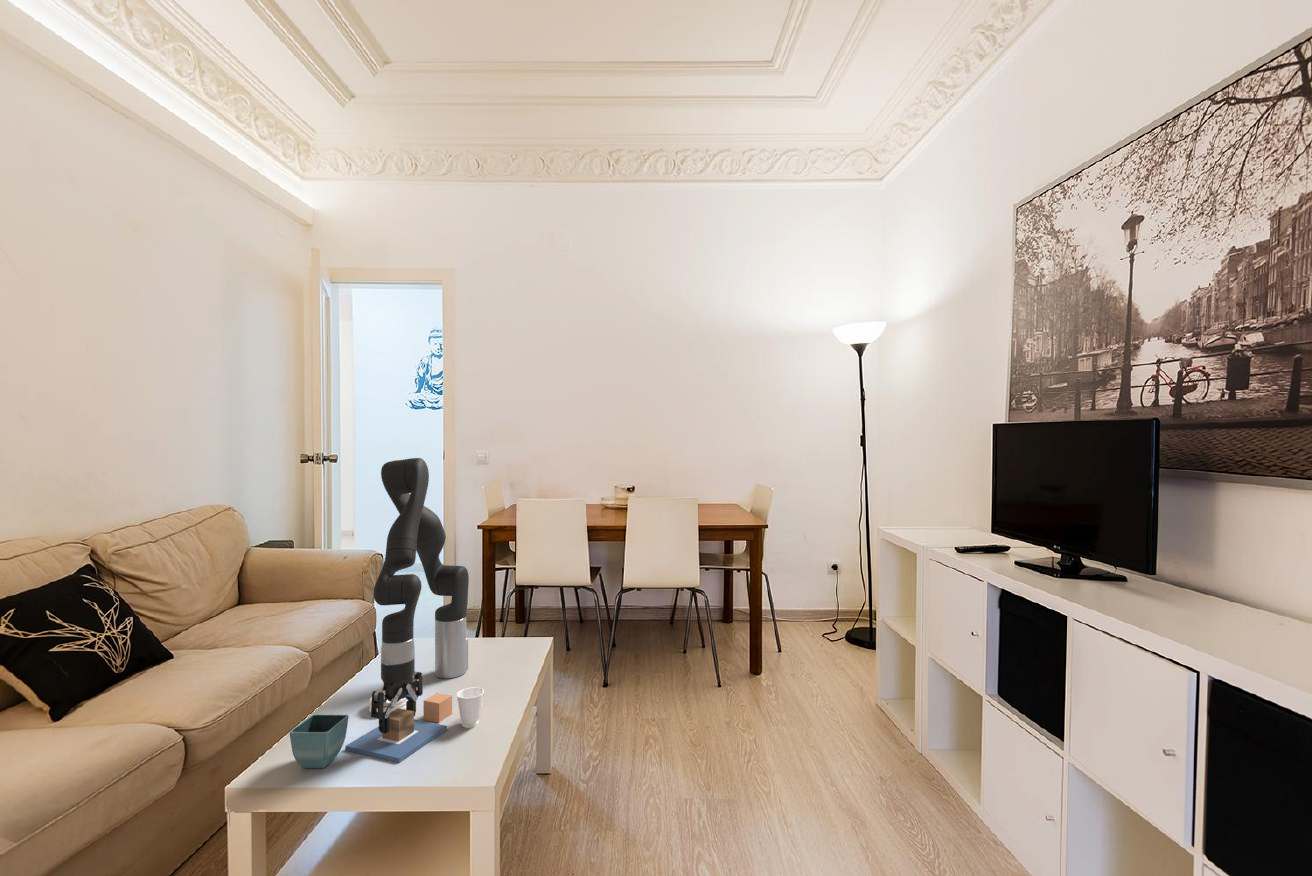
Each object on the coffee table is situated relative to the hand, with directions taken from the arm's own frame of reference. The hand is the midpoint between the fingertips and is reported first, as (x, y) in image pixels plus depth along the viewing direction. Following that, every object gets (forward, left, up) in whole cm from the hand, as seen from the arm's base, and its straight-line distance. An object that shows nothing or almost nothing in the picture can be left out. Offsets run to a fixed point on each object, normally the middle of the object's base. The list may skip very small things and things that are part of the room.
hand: (397, 724), depth 144 cm
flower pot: (+14, -9, -4) cm, 17 cm away
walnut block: (0, 0, -3) cm, 3 cm away
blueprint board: (0, 0, -4) cm, 4 cm away
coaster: (-13, -15, -4) cm, 20 cm away
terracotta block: (-13, +1, -4) cm, 14 cm away
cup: (-14, +11, -4) cm, 18 cm away
